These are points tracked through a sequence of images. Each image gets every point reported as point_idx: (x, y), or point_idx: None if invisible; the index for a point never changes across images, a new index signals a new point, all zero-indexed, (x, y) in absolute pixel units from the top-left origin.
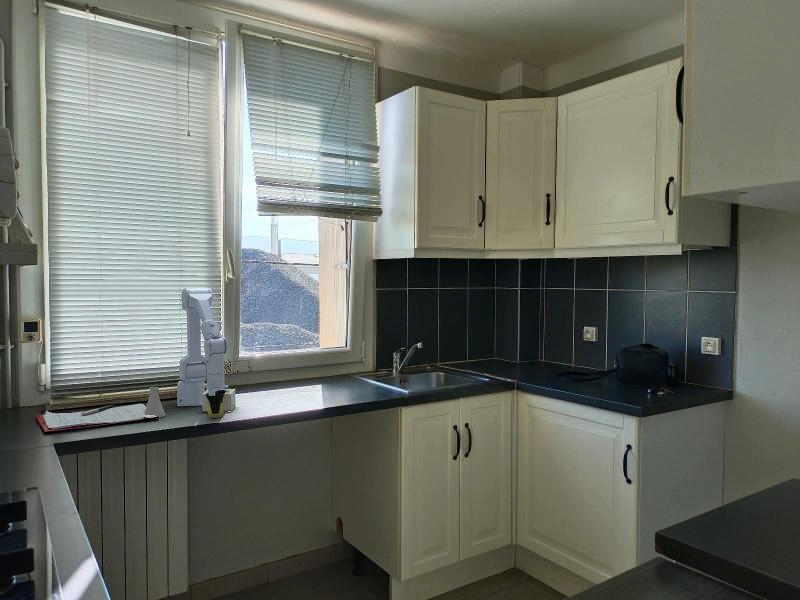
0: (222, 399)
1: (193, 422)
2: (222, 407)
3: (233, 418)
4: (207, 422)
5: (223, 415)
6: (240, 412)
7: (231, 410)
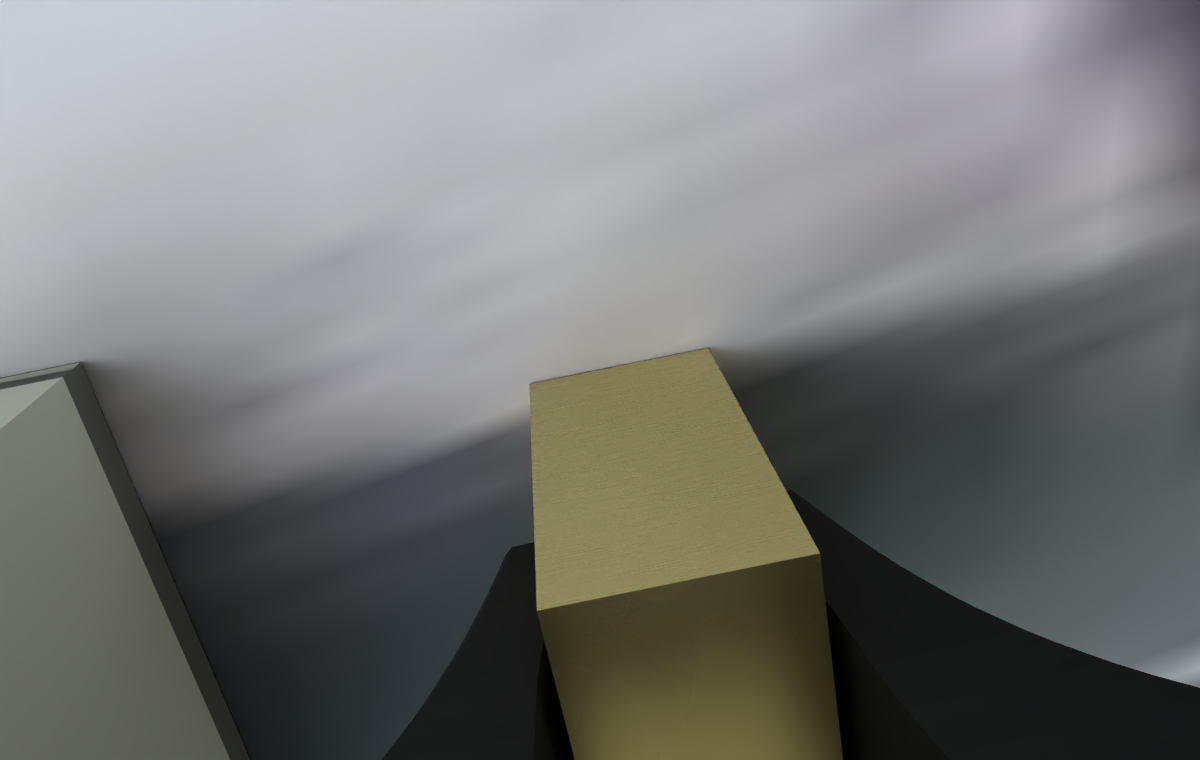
0: (455, 740)
1: None
2: (778, 478)
3: (817, 19)
4: (1173, 498)
5: (660, 371)
6: (61, 77)
7: (64, 378)
